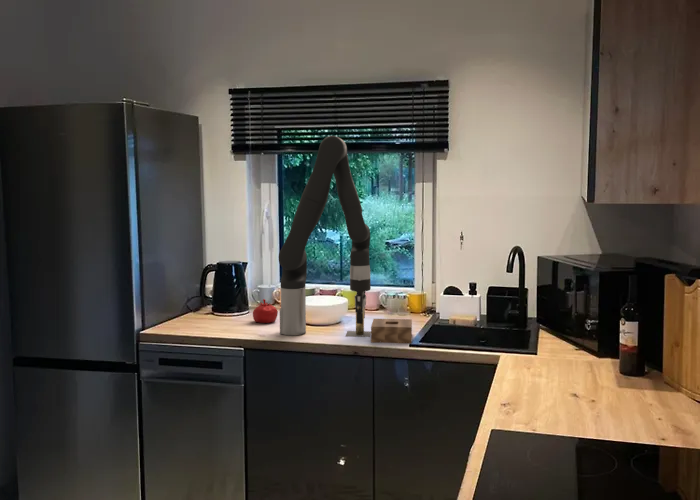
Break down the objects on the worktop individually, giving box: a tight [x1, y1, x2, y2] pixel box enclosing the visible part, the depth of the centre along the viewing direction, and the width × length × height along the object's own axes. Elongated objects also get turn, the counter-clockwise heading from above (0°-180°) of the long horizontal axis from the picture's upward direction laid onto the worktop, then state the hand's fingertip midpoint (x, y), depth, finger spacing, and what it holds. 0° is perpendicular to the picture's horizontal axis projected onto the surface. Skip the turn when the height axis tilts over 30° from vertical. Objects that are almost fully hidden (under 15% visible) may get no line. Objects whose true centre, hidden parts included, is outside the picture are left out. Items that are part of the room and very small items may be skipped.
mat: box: [344, 330, 371, 338], centre depth 246 cm, size 9×9×1 cm
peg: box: [355, 308, 365, 335], centre depth 246 cm, size 3×3×10 cm
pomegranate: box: [252, 298, 279, 324], centre depth 270 cm, size 10×10×9 cm
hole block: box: [370, 318, 413, 344], centre depth 239 cm, size 14×14×6 cm
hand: (360, 321), depth 246 cm, fingers open, 8 cm apart
